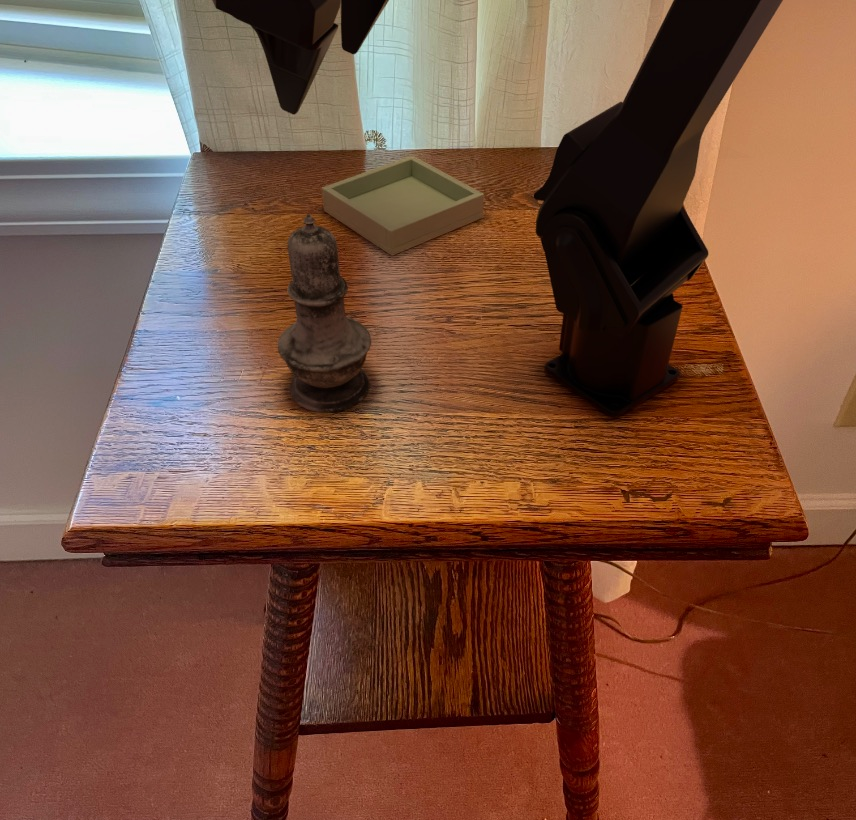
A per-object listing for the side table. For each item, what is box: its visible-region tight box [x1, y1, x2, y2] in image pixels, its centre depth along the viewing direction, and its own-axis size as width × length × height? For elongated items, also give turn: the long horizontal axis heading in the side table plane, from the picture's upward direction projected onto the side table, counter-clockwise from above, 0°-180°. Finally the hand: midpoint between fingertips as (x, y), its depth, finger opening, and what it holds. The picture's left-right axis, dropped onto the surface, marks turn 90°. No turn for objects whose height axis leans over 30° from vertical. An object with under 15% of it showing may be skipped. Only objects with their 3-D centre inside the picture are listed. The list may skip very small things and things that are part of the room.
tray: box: [321, 155, 485, 256], centre depth 69 cm, size 10×10×2 cm
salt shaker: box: [277, 213, 372, 413], centre depth 50 cm, size 6×6×12 cm
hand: (320, 79), depth 56 cm, fingers open, 9 cm apart
